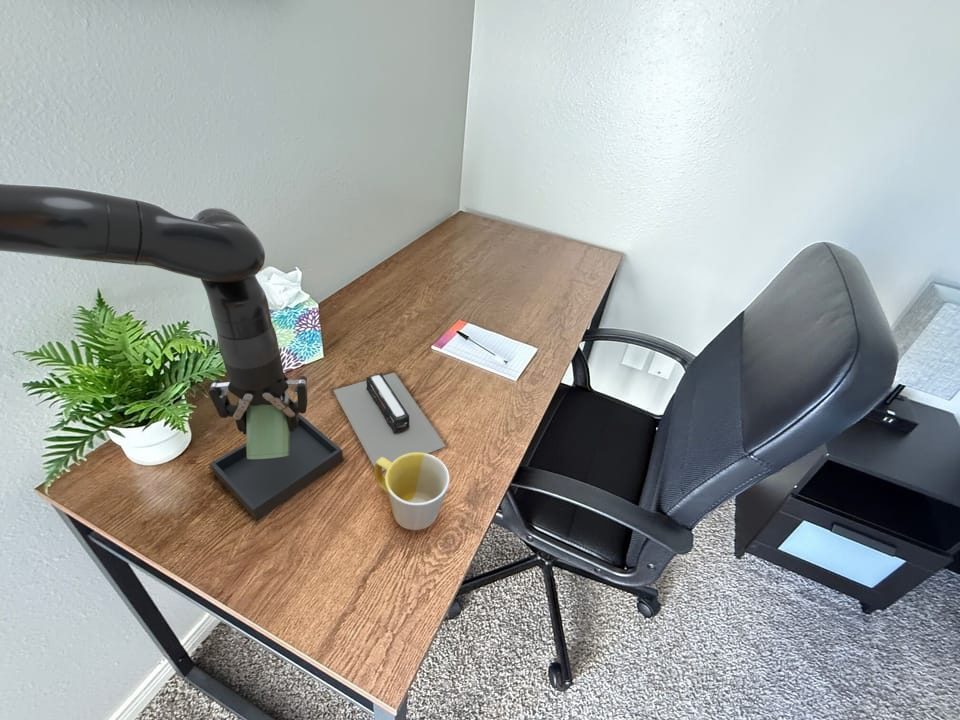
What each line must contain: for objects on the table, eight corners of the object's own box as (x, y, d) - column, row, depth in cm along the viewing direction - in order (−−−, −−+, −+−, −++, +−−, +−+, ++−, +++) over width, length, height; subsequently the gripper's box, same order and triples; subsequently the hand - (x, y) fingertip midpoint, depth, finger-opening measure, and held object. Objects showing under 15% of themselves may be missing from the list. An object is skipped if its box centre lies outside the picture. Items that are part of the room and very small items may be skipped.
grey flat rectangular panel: (394, 372, 108) (394, 358, 106) (446, 446, 93) (447, 431, 90) (333, 390, 101) (331, 375, 99) (377, 473, 86) (376, 458, 83)
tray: (256, 521, 76) (252, 510, 74) (213, 474, 82) (209, 463, 80) (343, 460, 87) (342, 449, 85) (300, 423, 93) (298, 412, 91)
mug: (457, 516, 81) (463, 479, 74) (412, 554, 74) (413, 517, 68) (407, 468, 87) (408, 430, 81) (361, 499, 81) (358, 460, 75)
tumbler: (259, 459, 71) (258, 394, 72) (239, 458, 75) (238, 396, 76) (297, 455, 76) (296, 394, 77) (276, 454, 80) (276, 396, 81)
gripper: (305, 334, 72) (316, 410, 82) (202, 336, 68) (227, 415, 79) (300, 365, 66) (313, 443, 76) (188, 369, 63) (217, 449, 73)
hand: (269, 429), depth 77 cm, fingers closed on tumbler, 6 cm apart
